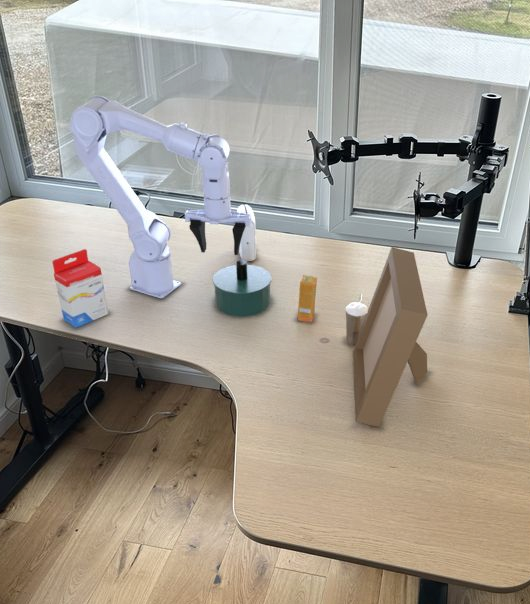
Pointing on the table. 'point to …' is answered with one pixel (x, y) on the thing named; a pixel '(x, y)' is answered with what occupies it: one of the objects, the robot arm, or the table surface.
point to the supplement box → (307, 298)
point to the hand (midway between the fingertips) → (220, 251)
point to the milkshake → (355, 320)
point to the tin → (242, 302)
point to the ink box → (79, 289)
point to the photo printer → (248, 236)
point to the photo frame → (389, 337)
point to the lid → (242, 279)
